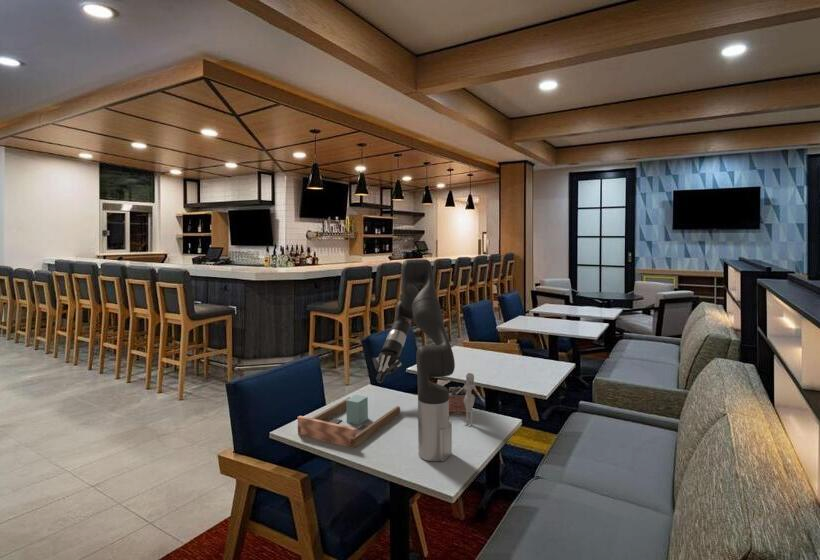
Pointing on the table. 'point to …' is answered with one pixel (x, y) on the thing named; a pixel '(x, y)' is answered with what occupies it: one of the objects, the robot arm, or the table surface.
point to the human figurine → (469, 396)
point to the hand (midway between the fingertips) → (378, 381)
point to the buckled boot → (457, 402)
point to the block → (357, 409)
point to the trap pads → (336, 421)
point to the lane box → (340, 427)
